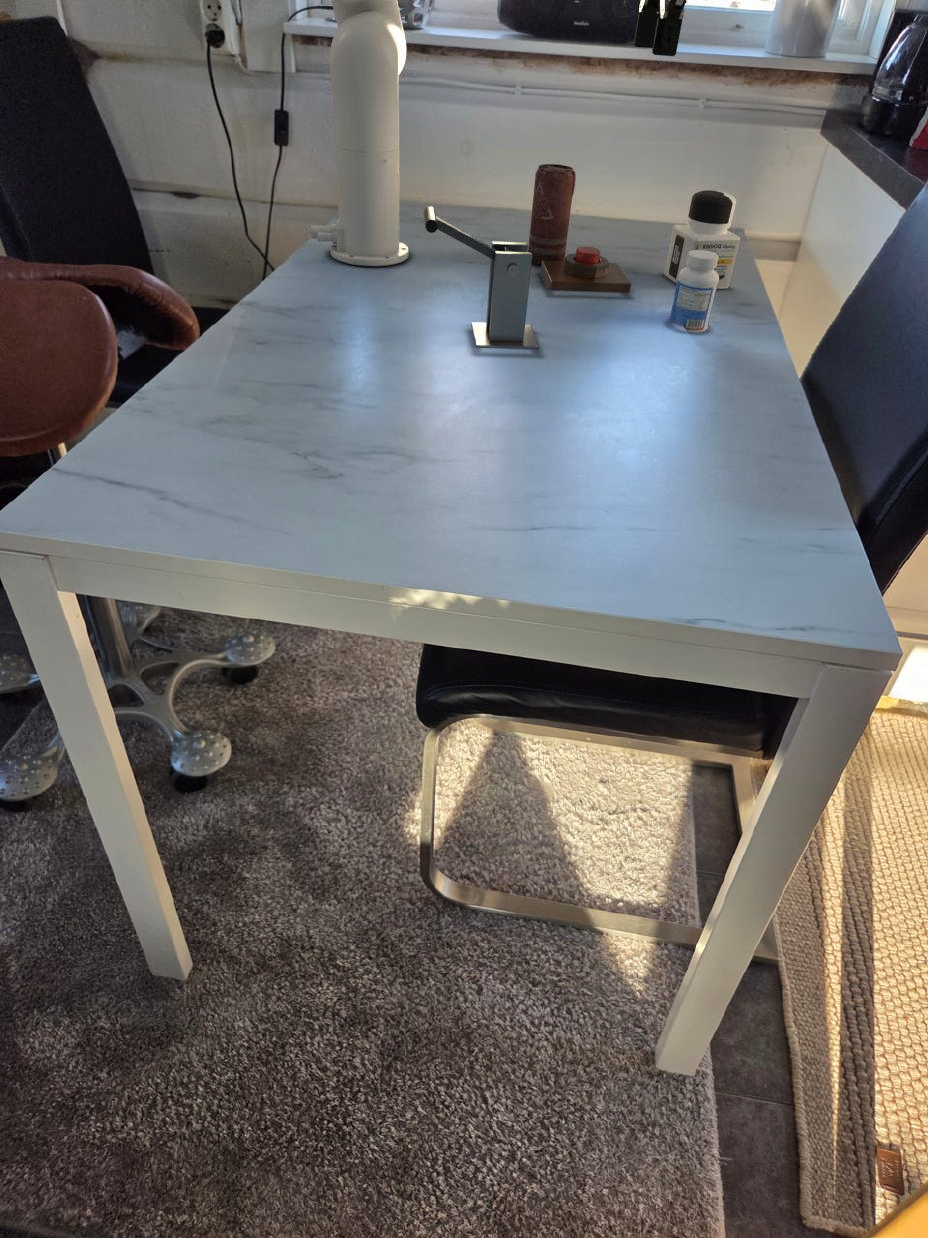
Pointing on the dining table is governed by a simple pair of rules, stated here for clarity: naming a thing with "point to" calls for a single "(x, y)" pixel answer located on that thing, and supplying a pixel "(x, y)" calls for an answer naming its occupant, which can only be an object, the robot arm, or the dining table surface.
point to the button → (587, 255)
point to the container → (705, 235)
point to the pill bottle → (695, 291)
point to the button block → (584, 276)
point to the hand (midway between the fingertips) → (653, 50)
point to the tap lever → (457, 233)
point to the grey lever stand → (507, 301)
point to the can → (551, 212)
